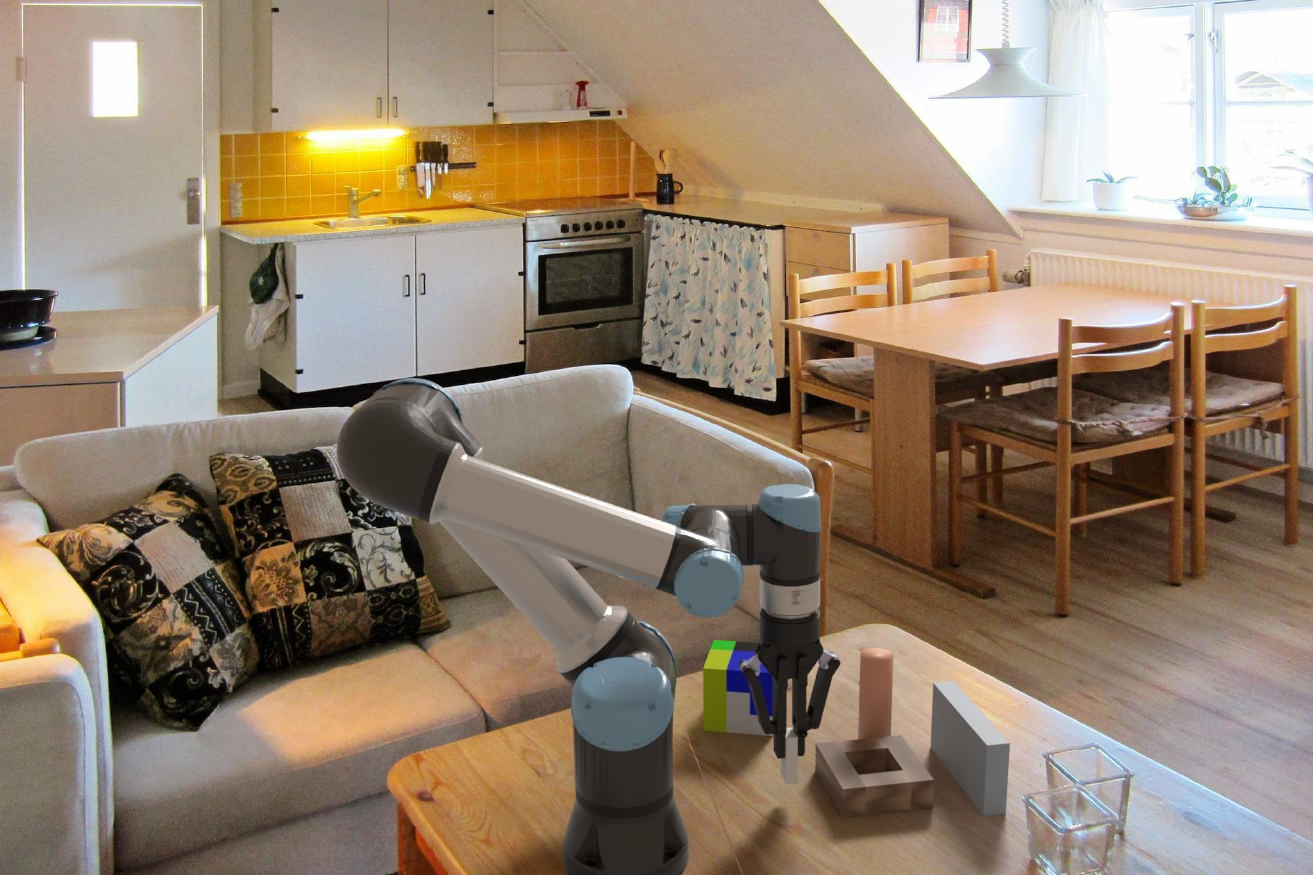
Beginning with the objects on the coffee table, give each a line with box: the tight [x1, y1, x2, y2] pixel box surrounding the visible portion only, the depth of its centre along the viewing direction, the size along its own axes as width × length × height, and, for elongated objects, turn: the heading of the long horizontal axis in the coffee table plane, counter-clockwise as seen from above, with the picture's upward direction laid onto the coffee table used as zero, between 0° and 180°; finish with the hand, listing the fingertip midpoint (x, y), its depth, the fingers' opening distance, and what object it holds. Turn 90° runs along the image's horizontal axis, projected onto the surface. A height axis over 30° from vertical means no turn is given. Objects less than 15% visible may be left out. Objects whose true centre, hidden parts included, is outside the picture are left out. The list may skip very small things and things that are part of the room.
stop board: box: [929, 680, 1011, 817], centre depth 170 cm, size 3×18×10 cm, turn 9°
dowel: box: [857, 647, 894, 739], centre depth 178 cm, size 4×4×14 cm
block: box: [814, 734, 935, 819], centre depth 168 cm, size 12×12×4 cm
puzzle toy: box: [702, 639, 774, 737], centre depth 188 cm, size 10×10×10 cm
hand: (789, 778), depth 166 cm, fingers closed
